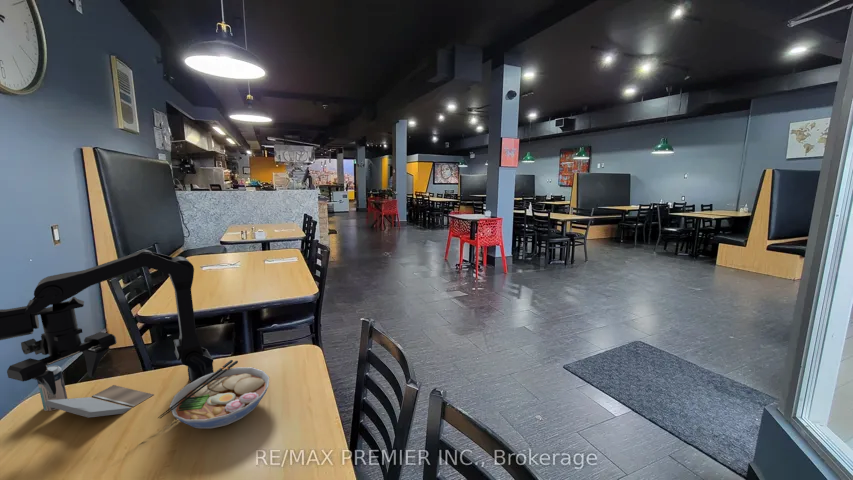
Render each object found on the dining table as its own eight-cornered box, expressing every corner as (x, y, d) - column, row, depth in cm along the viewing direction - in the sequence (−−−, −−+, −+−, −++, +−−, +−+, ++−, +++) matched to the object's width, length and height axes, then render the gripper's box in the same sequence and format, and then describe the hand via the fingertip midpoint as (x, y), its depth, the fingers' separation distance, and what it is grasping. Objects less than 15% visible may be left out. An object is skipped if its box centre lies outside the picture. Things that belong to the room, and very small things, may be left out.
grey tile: (129, 412, 94) (131, 407, 94) (88, 417, 85) (90, 412, 85) (88, 401, 98) (89, 397, 99) (44, 405, 89) (46, 400, 89)
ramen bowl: (227, 459, 79) (223, 427, 78) (145, 443, 84) (140, 413, 82) (290, 392, 103) (288, 367, 102) (224, 382, 108) (221, 358, 106)
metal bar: (154, 398, 100) (153, 394, 100) (133, 411, 95) (133, 406, 95) (114, 389, 104) (113, 384, 104) (92, 400, 99) (91, 396, 99)
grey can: (74, 404, 98) (66, 365, 95) (55, 415, 93) (45, 375, 91) (59, 403, 98) (50, 364, 96) (39, 414, 94) (29, 373, 91)
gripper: (84, 309, 96) (94, 361, 99) (-16, 340, 79) (0, 402, 82) (113, 314, 93) (122, 367, 96) (16, 347, 76) (31, 411, 79)
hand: (73, 385), depth 88 cm, fingers open, 7 cm apart
